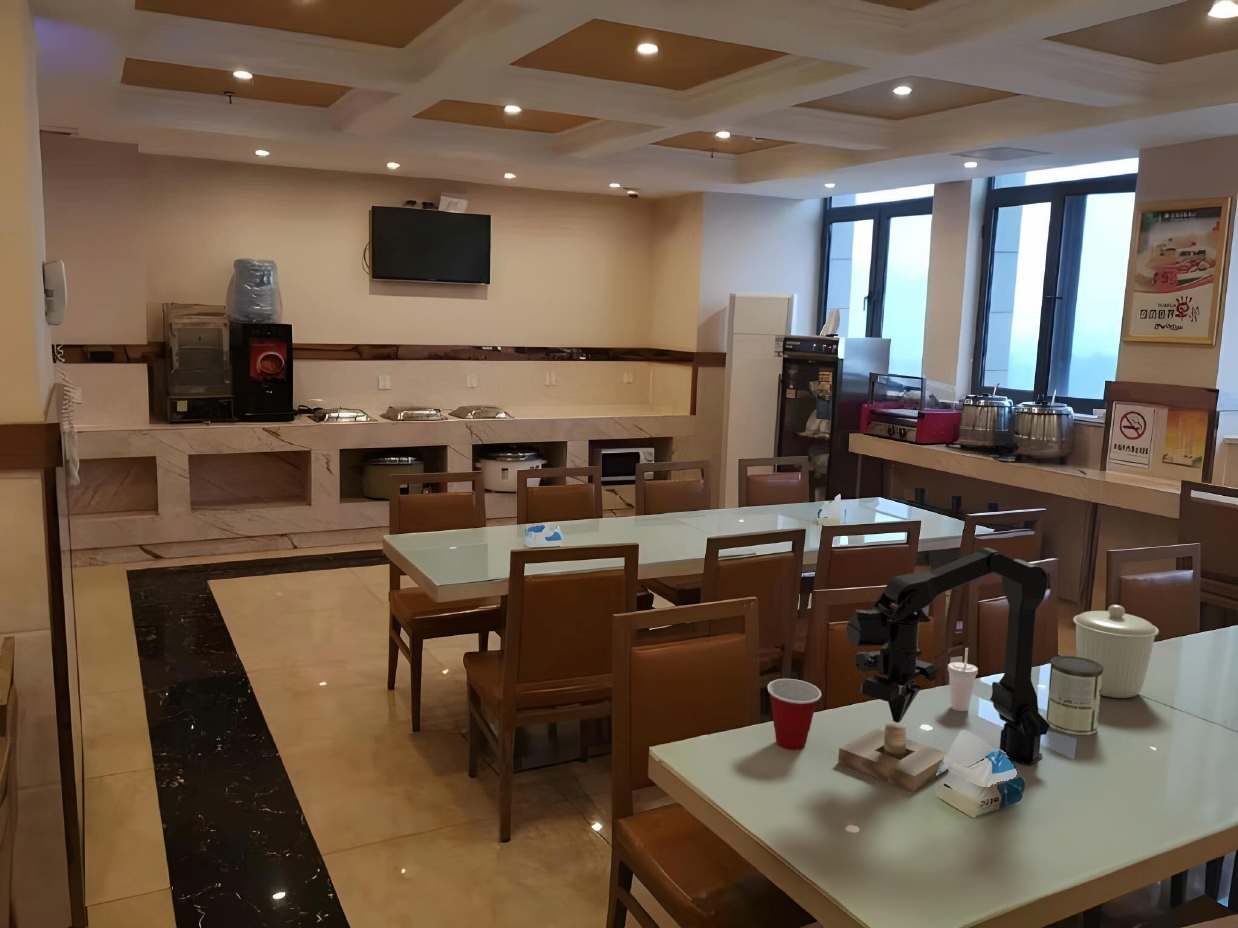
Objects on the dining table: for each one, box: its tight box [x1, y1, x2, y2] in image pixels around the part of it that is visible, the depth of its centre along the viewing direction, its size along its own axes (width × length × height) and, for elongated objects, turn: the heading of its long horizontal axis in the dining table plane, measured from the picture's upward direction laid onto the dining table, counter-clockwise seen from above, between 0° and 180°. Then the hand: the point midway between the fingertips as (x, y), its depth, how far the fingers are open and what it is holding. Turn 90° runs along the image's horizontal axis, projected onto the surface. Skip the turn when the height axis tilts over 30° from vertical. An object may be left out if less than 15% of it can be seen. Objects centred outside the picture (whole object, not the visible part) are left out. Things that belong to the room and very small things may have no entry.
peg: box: [883, 721, 908, 760], centre depth 186 cm, size 4×4×8 cm
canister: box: [1072, 604, 1160, 699], centre depth 228 cm, size 18×18×21 cm
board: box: [837, 728, 948, 792], centre depth 186 cm, size 16×14×3 cm
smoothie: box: [947, 647, 979, 712], centre depth 216 cm, size 6×6×14 cm
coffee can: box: [1045, 655, 1104, 736], centre depth 207 cm, size 10×10×14 cm
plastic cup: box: [767, 678, 822, 751], centre depth 194 cm, size 11×11×12 cm
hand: (896, 721), depth 185 cm, fingers closed
